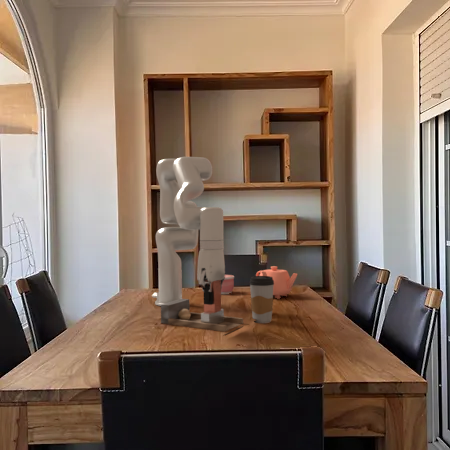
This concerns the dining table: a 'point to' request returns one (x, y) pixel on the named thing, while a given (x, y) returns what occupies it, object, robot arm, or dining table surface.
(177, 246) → the robot arm
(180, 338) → the dining table surface
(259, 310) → the coffee cup
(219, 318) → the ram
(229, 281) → the container
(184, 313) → the walnut
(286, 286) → the teapot
